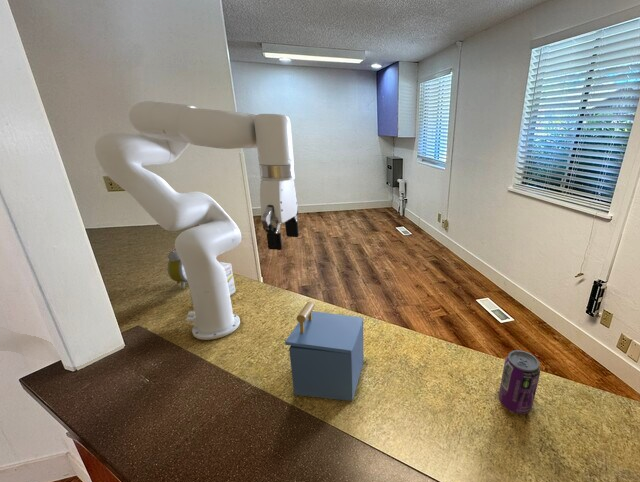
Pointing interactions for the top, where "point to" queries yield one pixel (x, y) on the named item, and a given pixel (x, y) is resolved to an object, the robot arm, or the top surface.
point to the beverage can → (519, 381)
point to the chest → (327, 371)
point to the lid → (325, 330)
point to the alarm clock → (176, 269)
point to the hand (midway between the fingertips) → (284, 242)
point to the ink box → (229, 277)
